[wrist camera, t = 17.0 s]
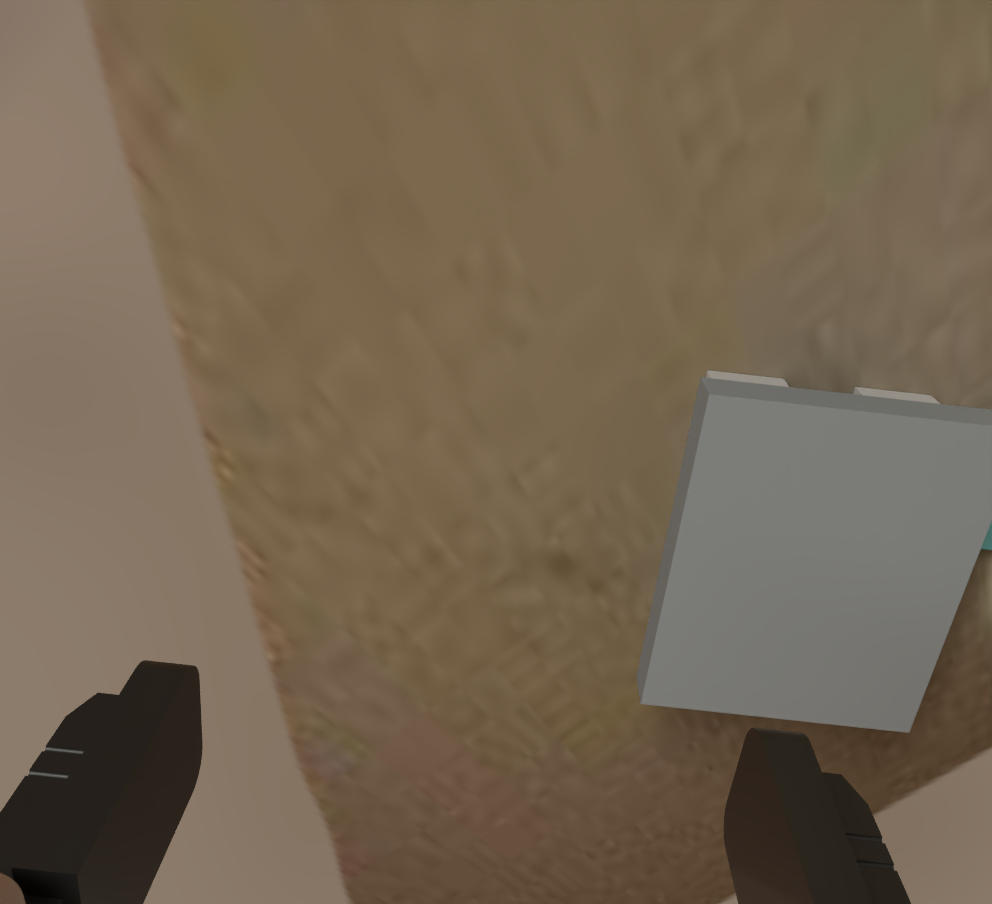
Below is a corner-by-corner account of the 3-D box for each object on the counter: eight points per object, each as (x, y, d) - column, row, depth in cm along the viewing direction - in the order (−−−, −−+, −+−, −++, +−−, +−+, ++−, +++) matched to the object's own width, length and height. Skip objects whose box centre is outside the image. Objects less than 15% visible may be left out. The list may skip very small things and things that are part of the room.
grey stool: (686, 347, 42) (709, 394, 36) (963, 378, 42) (1027, 429, 36) (628, 628, 49) (640, 703, 43) (866, 654, 49) (909, 732, 43)
